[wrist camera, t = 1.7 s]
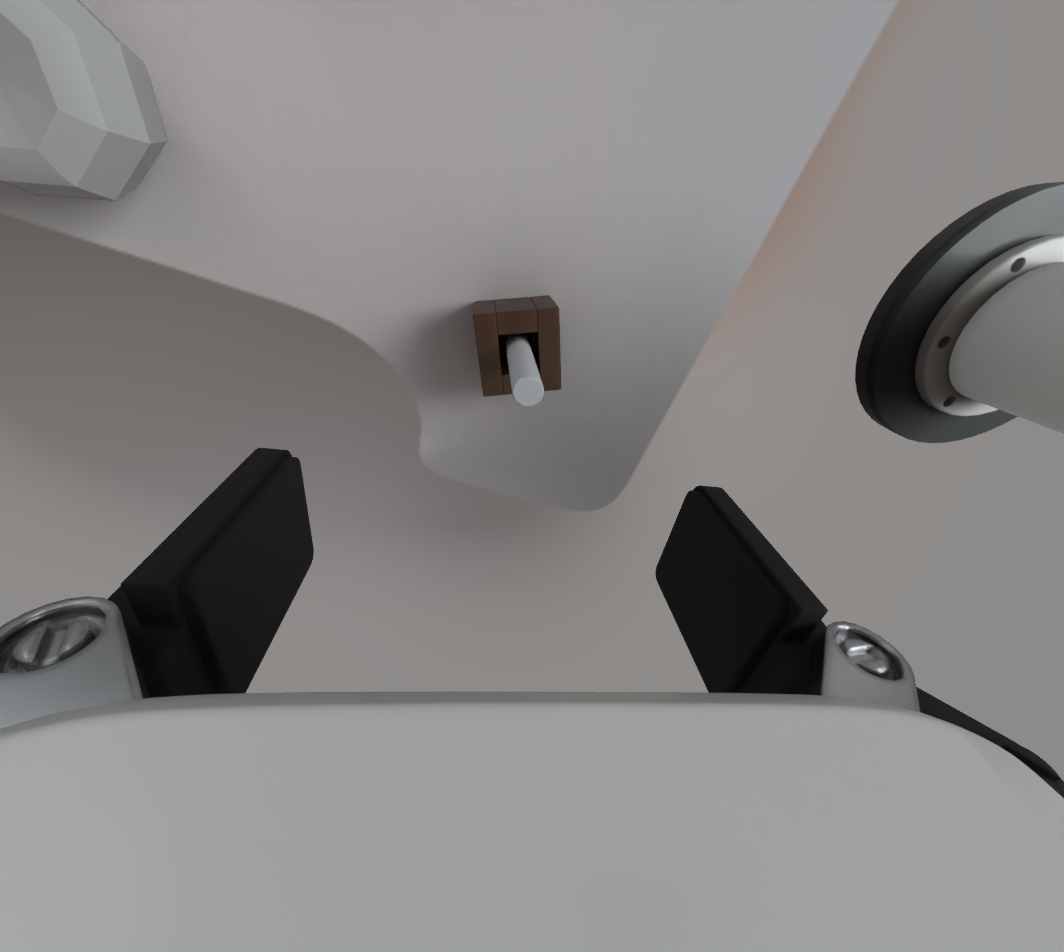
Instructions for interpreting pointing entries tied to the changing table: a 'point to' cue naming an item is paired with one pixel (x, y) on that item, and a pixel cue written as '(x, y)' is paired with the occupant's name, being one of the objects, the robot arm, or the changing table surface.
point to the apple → (72, 104)
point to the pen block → (517, 319)
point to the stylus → (523, 370)
